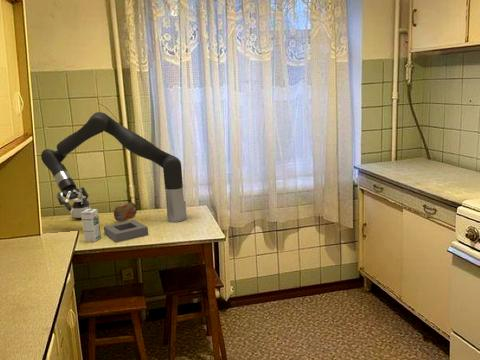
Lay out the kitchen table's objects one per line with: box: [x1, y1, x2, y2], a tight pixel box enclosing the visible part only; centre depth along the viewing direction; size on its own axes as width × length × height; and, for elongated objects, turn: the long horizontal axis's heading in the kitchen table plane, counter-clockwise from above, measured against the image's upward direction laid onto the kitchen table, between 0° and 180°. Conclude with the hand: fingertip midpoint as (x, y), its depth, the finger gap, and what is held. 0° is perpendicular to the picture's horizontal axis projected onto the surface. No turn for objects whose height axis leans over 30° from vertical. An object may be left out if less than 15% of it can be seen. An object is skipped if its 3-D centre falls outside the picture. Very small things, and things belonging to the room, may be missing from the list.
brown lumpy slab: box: [113, 202, 138, 223], centre depth 269 cm, size 15×3×8 cm, turn 148°
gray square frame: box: [103, 219, 149, 243], centre depth 244 cm, size 16×16×4 cm
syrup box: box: [81, 208, 102, 242], centre depth 238 cm, size 6×6×14 cm
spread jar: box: [69, 198, 91, 221], centre depth 276 cm, size 12×11×12 cm
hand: (78, 207), depth 245 cm, fingers open, 8 cm apart
